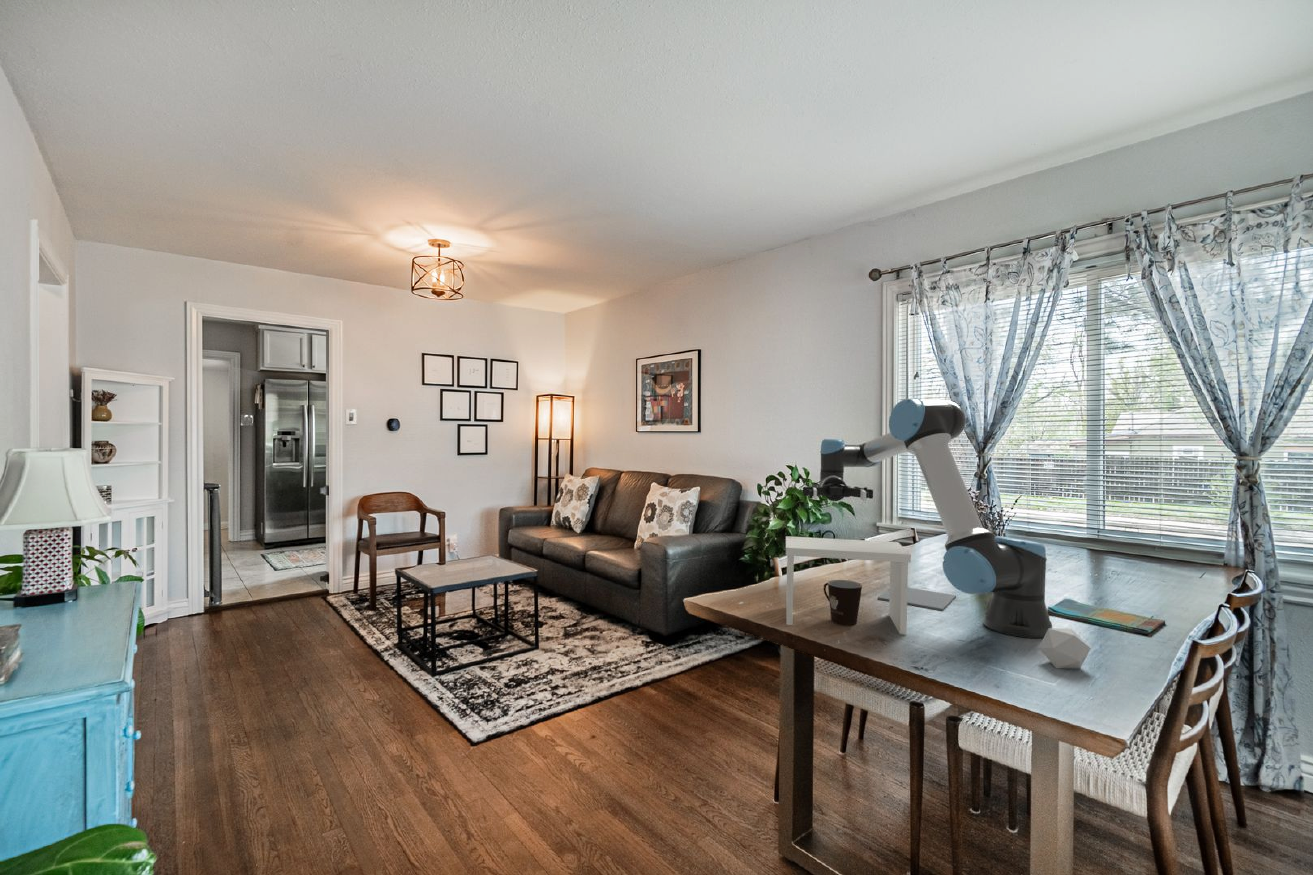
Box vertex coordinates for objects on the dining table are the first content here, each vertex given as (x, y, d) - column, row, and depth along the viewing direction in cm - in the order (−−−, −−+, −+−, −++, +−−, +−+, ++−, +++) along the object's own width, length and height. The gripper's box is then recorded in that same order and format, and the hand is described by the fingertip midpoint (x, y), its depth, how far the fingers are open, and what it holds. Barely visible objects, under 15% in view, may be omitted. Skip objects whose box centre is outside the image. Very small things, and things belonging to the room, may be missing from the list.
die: (1089, 680, 125) (1103, 639, 128) (1049, 656, 127) (1064, 616, 130) (1063, 679, 133) (1077, 640, 136) (1026, 657, 135) (1041, 618, 137)
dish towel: (1065, 605, 180) (1065, 596, 180) (1166, 625, 162) (1166, 616, 162) (1043, 615, 170) (1043, 606, 169) (1149, 639, 151) (1149, 629, 151)
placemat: (956, 597, 185) (956, 595, 185) (943, 610, 170) (943, 608, 170) (894, 587, 196) (894, 585, 196) (877, 599, 181) (877, 597, 181)
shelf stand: (784, 606, 172) (785, 536, 172) (896, 614, 166) (898, 542, 166) (784, 625, 156) (786, 547, 155) (908, 635, 149) (910, 554, 149)
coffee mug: (865, 627, 155) (866, 588, 155) (832, 626, 155) (832, 587, 155) (851, 613, 167) (852, 577, 166) (820, 612, 167) (821, 576, 166)
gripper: (874, 501, 192) (885, 510, 171) (793, 498, 197) (795, 506, 176) (875, 478, 192) (886, 483, 171) (794, 475, 197) (795, 480, 176)
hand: (839, 495), depth 174 cm, fingers open, 13 cm apart
